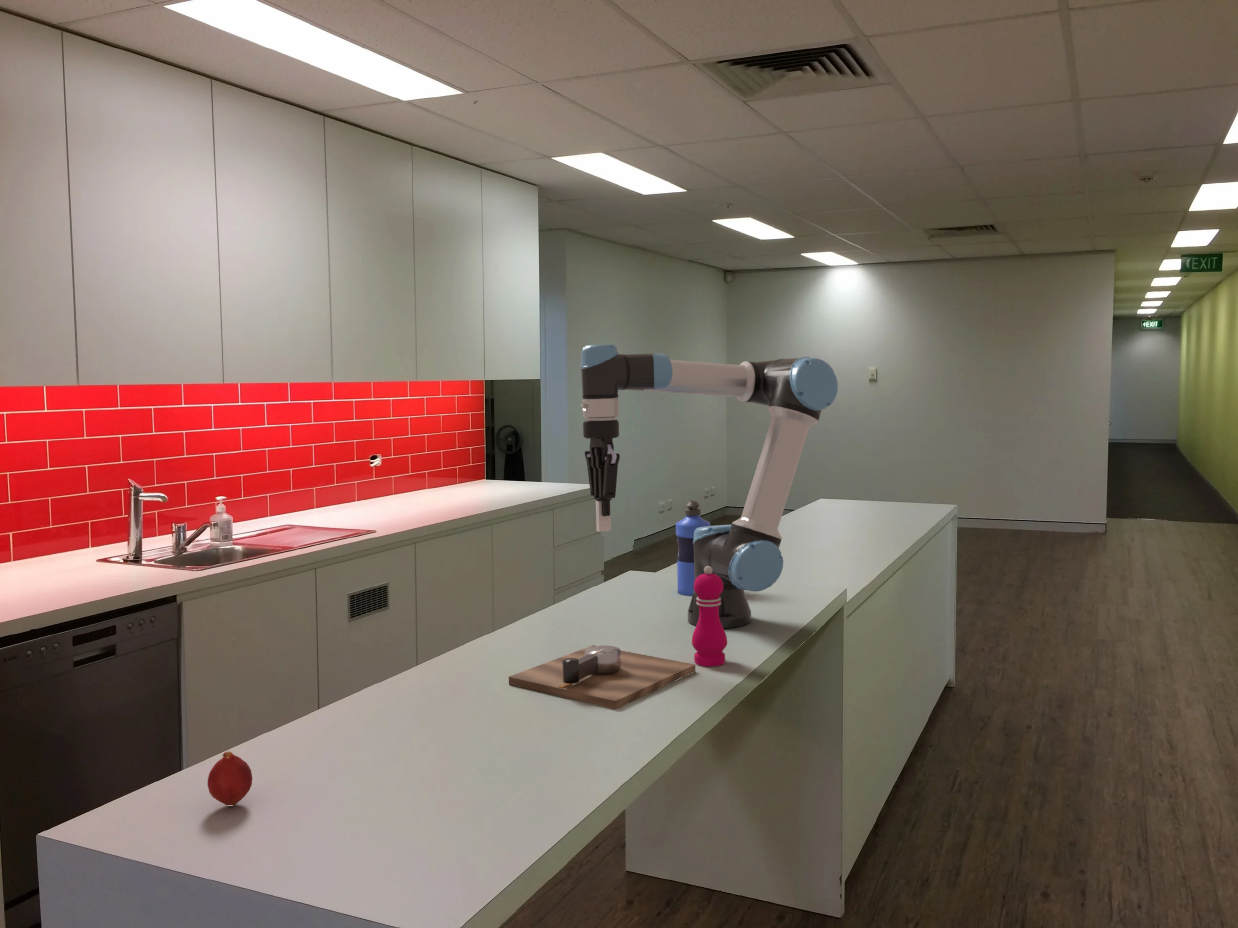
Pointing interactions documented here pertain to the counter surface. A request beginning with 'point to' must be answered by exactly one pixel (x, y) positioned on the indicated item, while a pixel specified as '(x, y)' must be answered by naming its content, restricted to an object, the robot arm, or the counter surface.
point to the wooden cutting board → (605, 679)
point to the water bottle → (687, 547)
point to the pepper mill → (709, 621)
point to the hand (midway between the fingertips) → (603, 530)
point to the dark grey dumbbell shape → (592, 663)
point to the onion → (229, 779)
